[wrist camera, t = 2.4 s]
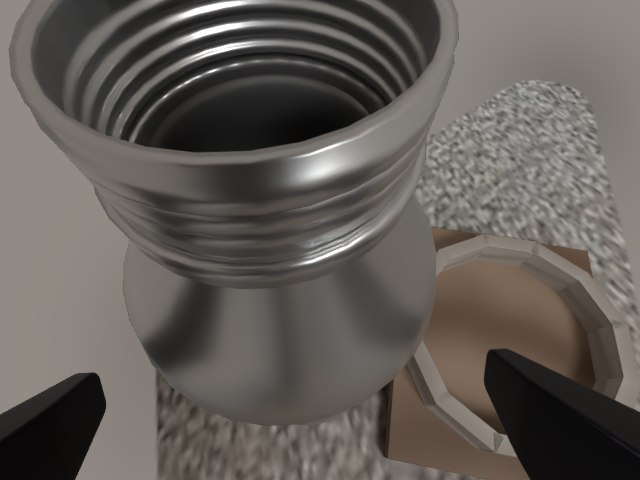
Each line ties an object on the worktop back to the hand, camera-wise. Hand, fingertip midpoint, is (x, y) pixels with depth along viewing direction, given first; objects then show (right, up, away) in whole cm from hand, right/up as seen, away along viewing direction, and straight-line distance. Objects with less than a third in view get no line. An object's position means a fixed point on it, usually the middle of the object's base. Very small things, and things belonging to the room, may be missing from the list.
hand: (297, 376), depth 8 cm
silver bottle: (0, -4, +13) cm, 13 cm away
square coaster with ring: (+11, -3, +13) cm, 18 cm away
